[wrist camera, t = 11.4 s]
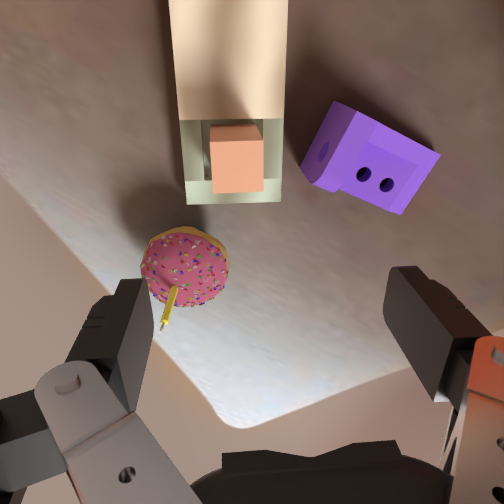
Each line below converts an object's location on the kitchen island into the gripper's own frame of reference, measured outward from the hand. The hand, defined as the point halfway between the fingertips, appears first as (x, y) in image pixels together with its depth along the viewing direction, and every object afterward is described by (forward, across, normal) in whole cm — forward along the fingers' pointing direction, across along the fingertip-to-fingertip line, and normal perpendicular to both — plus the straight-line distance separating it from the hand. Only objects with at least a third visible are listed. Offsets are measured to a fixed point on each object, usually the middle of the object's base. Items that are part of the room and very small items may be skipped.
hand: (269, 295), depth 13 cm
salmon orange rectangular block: (+25, 0, +1) cm, 25 cm away
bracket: (+27, -13, +3) cm, 30 cm away
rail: (+26, 0, -7) cm, 27 cm away
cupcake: (+27, +6, +12) cm, 30 cm away
